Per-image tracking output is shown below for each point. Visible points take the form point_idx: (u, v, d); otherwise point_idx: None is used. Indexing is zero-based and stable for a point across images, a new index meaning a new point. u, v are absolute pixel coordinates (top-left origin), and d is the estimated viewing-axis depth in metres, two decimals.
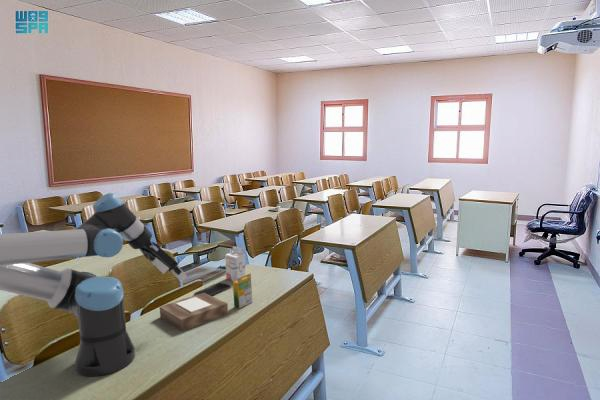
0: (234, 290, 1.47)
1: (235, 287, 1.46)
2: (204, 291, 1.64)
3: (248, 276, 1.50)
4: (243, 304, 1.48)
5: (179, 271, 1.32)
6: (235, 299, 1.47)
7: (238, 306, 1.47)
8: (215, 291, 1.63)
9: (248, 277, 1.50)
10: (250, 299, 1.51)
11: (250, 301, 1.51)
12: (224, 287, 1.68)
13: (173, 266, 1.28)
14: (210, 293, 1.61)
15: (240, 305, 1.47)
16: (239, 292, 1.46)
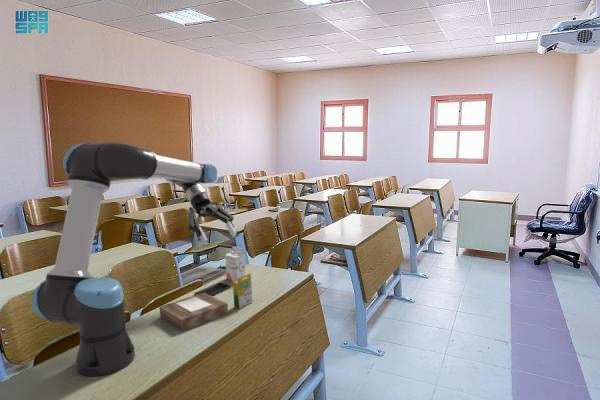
0: (234, 290, 1.47)
1: (235, 287, 1.46)
2: (204, 291, 1.64)
3: (248, 276, 1.50)
4: (243, 304, 1.48)
5: None
6: (235, 299, 1.47)
7: (238, 306, 1.47)
8: (215, 291, 1.63)
9: (248, 277, 1.50)
10: (250, 299, 1.51)
11: (250, 301, 1.51)
12: (224, 287, 1.68)
13: None
14: (210, 293, 1.61)
15: (240, 305, 1.47)
16: (239, 292, 1.46)
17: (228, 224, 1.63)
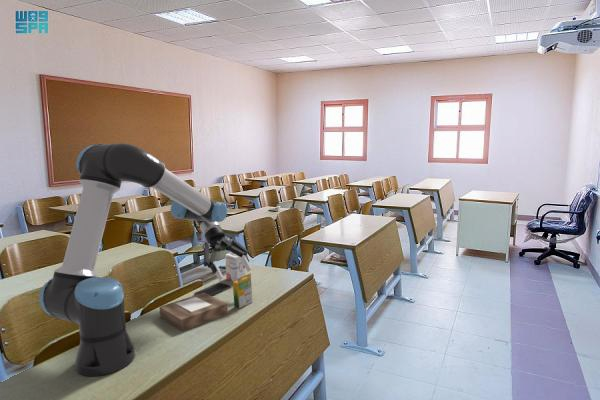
0: (234, 290, 1.47)
1: (235, 287, 1.46)
2: (204, 291, 1.64)
3: (248, 276, 1.50)
4: (243, 304, 1.48)
5: None
6: (235, 299, 1.47)
7: (238, 306, 1.47)
8: (215, 291, 1.63)
9: (248, 277, 1.50)
10: (250, 299, 1.51)
11: (250, 301, 1.51)
12: (224, 287, 1.68)
13: None
14: (210, 293, 1.61)
15: (240, 305, 1.47)
16: (239, 292, 1.46)
17: (243, 258, 1.60)
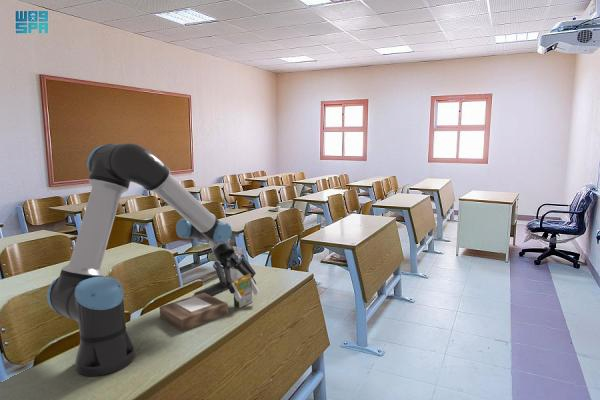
0: None
1: (236, 287, 1.46)
2: (204, 291, 1.64)
3: (248, 276, 1.50)
4: (243, 304, 1.48)
5: None
6: (235, 299, 1.47)
7: (238, 306, 1.47)
8: (215, 291, 1.63)
9: (248, 277, 1.50)
10: (250, 299, 1.51)
11: (250, 301, 1.51)
12: (224, 287, 1.68)
13: None
14: (210, 293, 1.61)
15: (240, 305, 1.47)
16: (239, 292, 1.46)
17: None
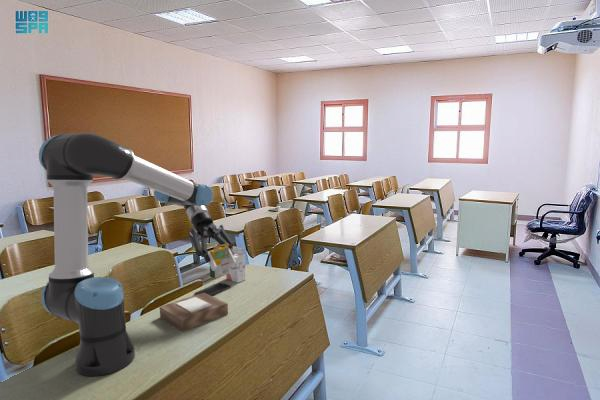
0: None
1: None
2: (204, 291, 1.64)
3: (225, 246, 1.45)
4: (219, 274, 1.43)
5: None
6: None
7: (214, 276, 1.42)
8: (215, 291, 1.63)
9: (225, 247, 1.45)
10: (227, 270, 1.46)
11: (227, 272, 1.46)
12: (224, 287, 1.68)
13: None
14: (210, 293, 1.61)
15: (216, 275, 1.42)
16: (215, 261, 1.41)
17: None
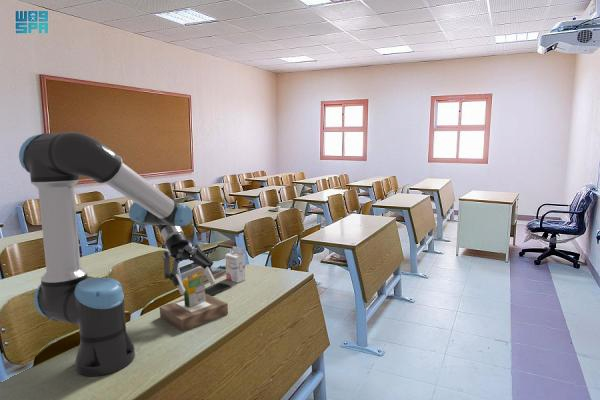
0: None
1: (185, 285, 1.37)
2: None
3: (200, 273, 1.41)
4: (194, 303, 1.39)
5: None
6: (185, 297, 1.38)
7: (188, 305, 1.38)
8: (215, 291, 1.63)
9: (200, 274, 1.41)
10: (203, 298, 1.42)
11: (203, 300, 1.43)
12: (224, 287, 1.68)
13: None
14: (210, 293, 1.61)
15: (190, 304, 1.38)
16: (189, 290, 1.37)
17: (206, 270, 1.45)
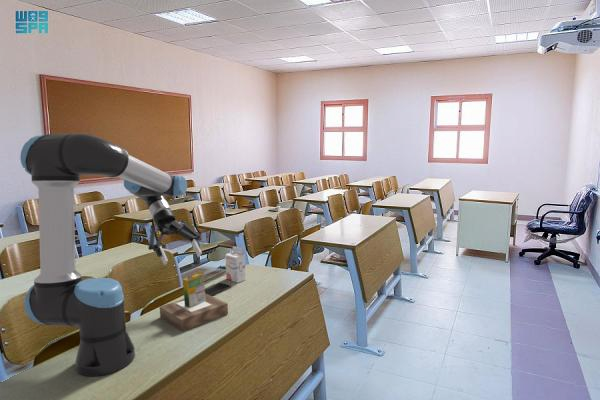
0: (184, 288, 1.38)
1: (185, 285, 1.37)
2: None
3: (200, 273, 1.41)
4: (194, 303, 1.39)
5: None
6: (185, 297, 1.38)
7: (188, 305, 1.38)
8: (215, 291, 1.63)
9: (200, 274, 1.41)
10: (203, 298, 1.42)
11: (203, 300, 1.43)
12: (224, 287, 1.68)
13: None
14: (210, 293, 1.61)
15: (190, 304, 1.38)
16: (189, 290, 1.37)
17: (193, 243, 1.52)
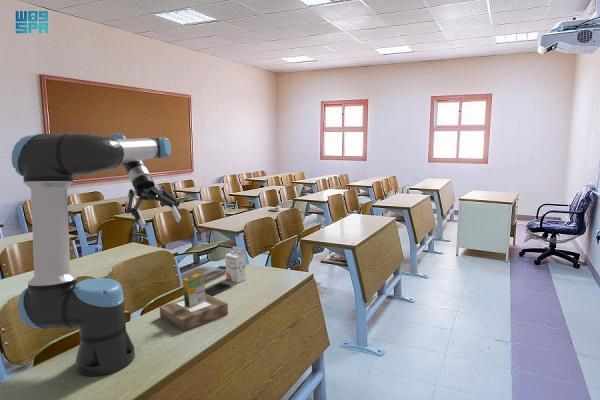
0: (184, 288, 1.38)
1: (185, 285, 1.37)
2: None
3: (200, 273, 1.41)
4: (194, 303, 1.39)
5: None
6: (185, 297, 1.38)
7: (188, 305, 1.38)
8: (215, 291, 1.63)
9: (200, 274, 1.41)
10: (203, 298, 1.42)
11: (203, 300, 1.43)
12: (224, 287, 1.68)
13: None
14: (210, 293, 1.61)
15: (190, 304, 1.38)
16: (189, 290, 1.37)
17: (173, 208, 1.51)
